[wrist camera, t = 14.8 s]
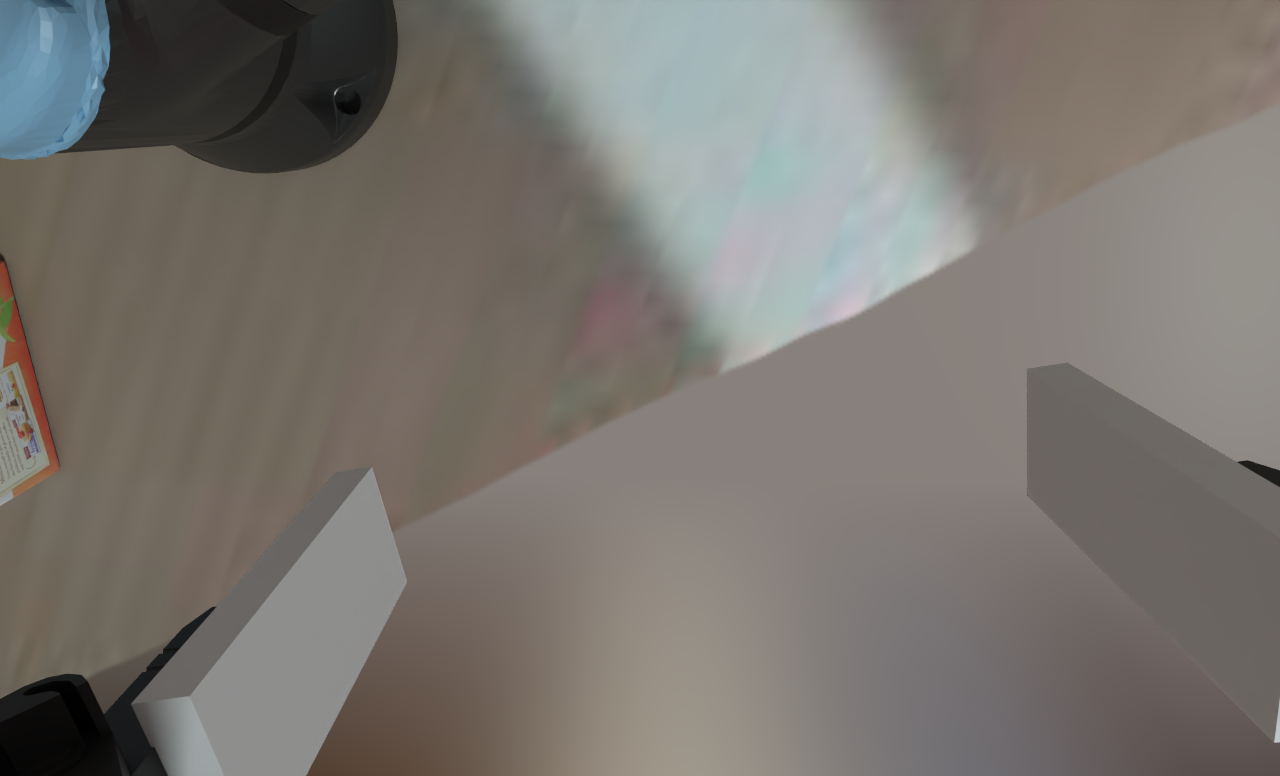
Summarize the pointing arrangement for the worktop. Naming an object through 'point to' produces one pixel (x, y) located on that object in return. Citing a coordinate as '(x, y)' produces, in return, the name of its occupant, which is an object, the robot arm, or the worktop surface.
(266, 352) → the worktop surface
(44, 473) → the cracker box
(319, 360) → the worktop surface
